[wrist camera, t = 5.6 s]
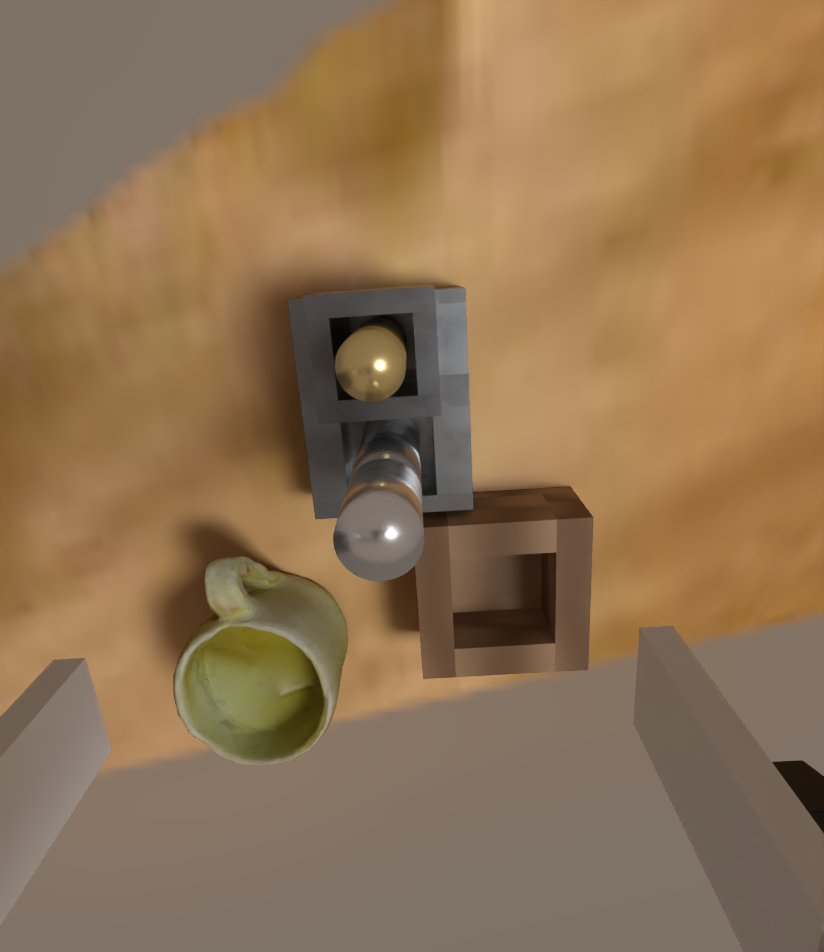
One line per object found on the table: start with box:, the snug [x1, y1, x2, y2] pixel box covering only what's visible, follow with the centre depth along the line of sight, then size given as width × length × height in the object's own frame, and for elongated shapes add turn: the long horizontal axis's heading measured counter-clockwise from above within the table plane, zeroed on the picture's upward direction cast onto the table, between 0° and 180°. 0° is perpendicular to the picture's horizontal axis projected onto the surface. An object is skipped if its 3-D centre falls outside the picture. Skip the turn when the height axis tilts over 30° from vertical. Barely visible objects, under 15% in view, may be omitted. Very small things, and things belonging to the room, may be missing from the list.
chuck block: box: [287, 284, 473, 519], centre depth 32 cm, size 9×12×9 cm
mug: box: [173, 556, 348, 765], centre depth 37 cm, size 12×10×10 cm
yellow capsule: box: [335, 318, 407, 402], centre depth 27 cm, size 3×3×7 cm
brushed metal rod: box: [333, 418, 424, 581], centre depth 29 cm, size 3×3×14 cm
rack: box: [415, 487, 593, 679], centre depth 37 cm, size 10×10×5 cm
